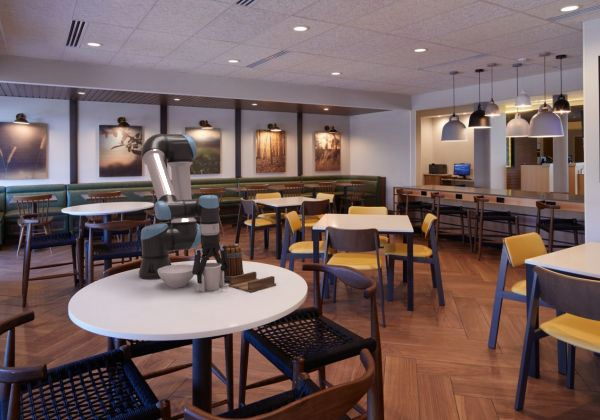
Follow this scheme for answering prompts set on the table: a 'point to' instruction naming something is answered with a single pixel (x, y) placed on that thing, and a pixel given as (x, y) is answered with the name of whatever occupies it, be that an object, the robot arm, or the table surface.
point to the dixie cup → (211, 276)
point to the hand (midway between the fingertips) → (211, 288)
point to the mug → (233, 262)
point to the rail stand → (251, 282)
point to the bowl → (176, 274)
